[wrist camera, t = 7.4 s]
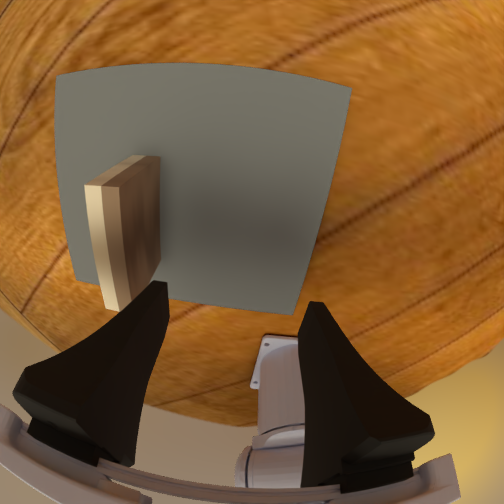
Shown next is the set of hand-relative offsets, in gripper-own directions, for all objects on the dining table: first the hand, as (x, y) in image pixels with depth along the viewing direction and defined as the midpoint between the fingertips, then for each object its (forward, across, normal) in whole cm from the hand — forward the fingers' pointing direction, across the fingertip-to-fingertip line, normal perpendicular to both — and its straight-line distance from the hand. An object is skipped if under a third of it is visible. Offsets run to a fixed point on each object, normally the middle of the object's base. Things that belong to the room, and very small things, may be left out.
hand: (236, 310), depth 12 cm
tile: (+8, +7, 0) cm, 11 cm away
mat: (+9, +5, -1) cm, 10 cm away
